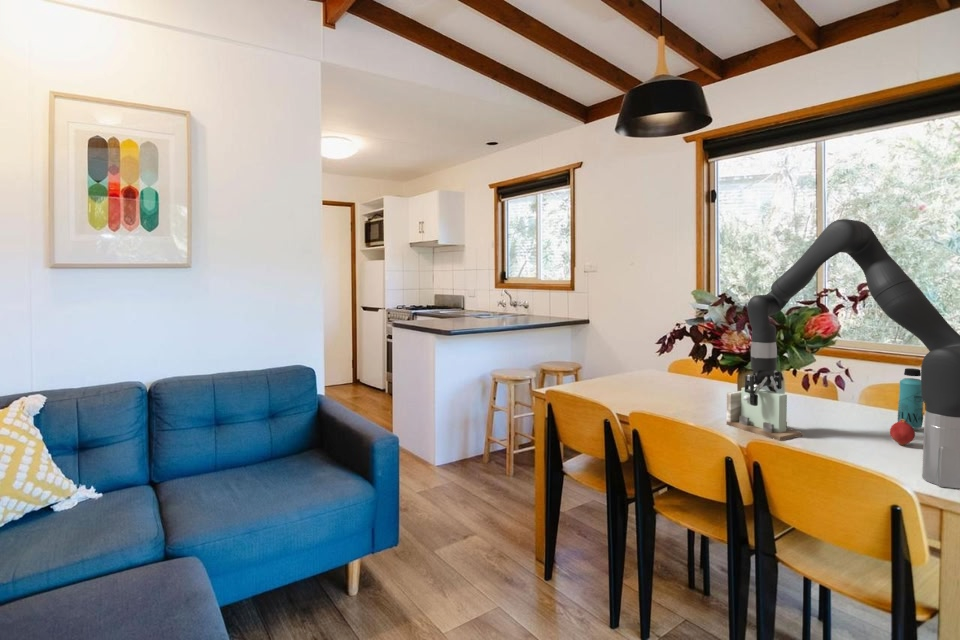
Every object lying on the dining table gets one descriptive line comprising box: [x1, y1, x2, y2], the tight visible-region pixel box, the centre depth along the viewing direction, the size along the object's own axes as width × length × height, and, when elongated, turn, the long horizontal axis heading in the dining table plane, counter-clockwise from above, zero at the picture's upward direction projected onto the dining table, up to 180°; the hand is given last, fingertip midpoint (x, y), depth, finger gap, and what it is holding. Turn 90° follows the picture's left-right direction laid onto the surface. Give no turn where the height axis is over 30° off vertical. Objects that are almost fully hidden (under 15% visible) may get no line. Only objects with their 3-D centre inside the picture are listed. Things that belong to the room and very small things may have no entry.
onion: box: [889, 419, 916, 446], centre depth 153 cm, size 6×6×8 cm
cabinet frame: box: [726, 390, 803, 441], centre depth 171 cm, size 20×10×11 cm, turn 23°
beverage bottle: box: [896, 367, 925, 429], centre depth 167 cm, size 6×7×20 cm
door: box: [740, 386, 788, 433], centre depth 170 cm, size 14×4×12 cm, turn 23°
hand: (763, 403), depth 170 cm, fingers open, 8 cm apart
